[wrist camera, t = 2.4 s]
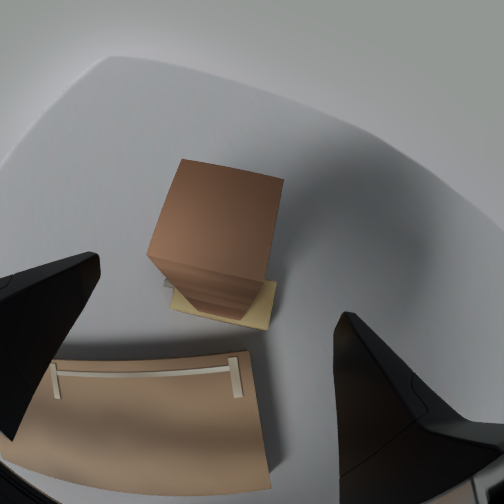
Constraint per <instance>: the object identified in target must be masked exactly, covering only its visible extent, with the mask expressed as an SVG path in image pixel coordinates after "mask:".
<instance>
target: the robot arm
mask: <svg viewBox="0 0 504 504" xmlns="http://www.w3.org/2000/svg"><path fill="white" fill-rule="evenodd" d="M100 275H101V270H100V258H99V255H98V254H97V253H93V252H85V253H81V254H78V255H74V256H71V257H68V258H64V259H61V260H57V261H54V262H51V263H47V264H44V265H41V266H38V267H34V268H31V269H28V270H25V271H22V272H19V273H16V274H14V275H13V274H12V275H9V276H6V277H3V278H0V433H1V434H3V435H4V436H5V437H6V438H7V439H9V440H10V441H11V442H13V440H14V438H15V436H16V433H17V431H18V428H19V426H20V424H21V422H22V419H23V417H24V415H25V413H26V410H27V408H28V406H29V404H30V402H31V400H32V398H33V395H34V394H35V392H36V390H37V388H38V386H39V384H40V382H41V380H42V378H43V376H44V374H45V372H46V371H47V369H48V367H49V365H50V363H51V362H52V360H53V358H54V356H55V354H56V353H57V351H58V349H59V348H60V346H61V344H62V343H63V341H64V339H65V338H66V336H67V334H68V333H69V331H70V329H71V328H72V326H73V325H74V323H75V321H76V320H77V318H78V317H79V315H80V314H81V312H82V310H83V309H84V307H85V305H86V303H87V301H88V299H89V298H90V296H91V294H92V292H93V290H94V288H95V286H96V284H97V283H98V281H99V279H100ZM333 374H334V385H335V397H336V410H337V425H338V444H339V474H340V478H339V484H340V504H504V424H496V423H482V422H473V421H470V420H467V419H465V418H463V417H462V416H461V415H459V414H458V413H457V412H456V411H455V410H454V409H453V408H452V407H450V406H449V405H448V404H447V403H446V402H445V401H444V400H443V399H441V398H440V397H439V396H438V395H437V394H436V393H435V392H434V391H433V390H432V389H430V388H429V387H428V386H427V385H426V384H425V383H424V382H423V381H422V380H421V379H420V378H419V377H418V376H417V375H416V374H415V373H414V372H413V371H412V370H411V368H410V367H409V366H408V365H407V364H406V363H405V362H404V361H403V360H402V359H401V358H400V357H399V356H398V355H397V354H396V353H395V352H394V351H393V350H392V349H391V348H390V347H389V346H388V345H387V344H386V343H385V342H384V341H383V340H382V339H381V338H380V337H379V336H378V335H377V334H376V333H375V332H374V331H373V330H372V329H371V328H370V327H369V326H368V325H367V324H366V323H364V322H363V321H362V320H361V319H360V318H359V317H358V316H357V315H356V314H355V313H352V312H346V311H345V312H343V313H342V315H341V317H340V319H339V321H338V323H337V325H336V327H335V330H334V335H333ZM0 504H62V503H60V502H58V501H56V500H55V499H53V498H52V497H50V496H48V495H47V494H45V493H44V492H42V491H40V490H39V489H37V488H36V487H34V486H33V485H32V484H30V483H29V482H27V481H26V480H25V479H23V478H22V477H20V476H19V475H18V474H16V473H15V472H14V471H13V470H11V469H10V468H9V467H8V466H6V465H5V464H4V463H3V462H1V461H0Z"/></svg>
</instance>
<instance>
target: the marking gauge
mask: <svg viewBox="0 0 504 504" xmlns="http://www.w3.org/2000/svg"><path fill="white" fill-rule="evenodd" d="M283 181H284V179H280V178H276V177H272V176H268V175H263V174H259V173H254V172H249V171H245V170H240V169H235V168H230V167H225V166H220V165H214V164H209V163H204V162H198V161H192V160H186V159H182V160H181V162H180V164H179V167H178V169H177V172H176V174H175V177H174V179H173V182H172V184H171V187H170V189H169V192H168V194H167V197H166V200H165V202H164V205H163V208H162V211H161V213H160V216H159V219H158V222H157V225H156V227H155V230H154V233H153V236H152V239H151V242H150V245H149V248H148V251H147V256H148V257H149V259H150V260H151V261H152V262H153V263H154V264H155V265H156V267H157V268H158V269H159V270H160V271H161V272H162V273H163V274H164V276H165V277H166V278H167V279H165V280H164V284H163V285H164V286H165V287H169V288H173V289H174V293H173V297H172V300H171V304H170V307H171V308H172V309H174V310H177V311H180V312H184V313H188V314H192V315H196V316H200V317H204V318H208V319H212V320H217V321H221V322H225V323H230V324H234V325H239V326H243V327H248V328H253V329H258V330H263V331H266V330H268V326H269V321H270V316H271V311H272V306H273V301H274V296H275V290H276V285H277V282H275V281H270V280H265V275H266V270H267V265H268V260H269V255H270V250H271V245H272V239H273V234H274V229H275V224H276V219H277V213H278V208H279V203H280V197H281V192H282V187H283Z"/></svg>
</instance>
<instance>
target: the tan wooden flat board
mask: <svg viewBox="0 0 504 504" xmlns="http://www.w3.org/2000/svg"><path fill="white" fill-rule="evenodd" d="M0 453H1V456H2V458H3V459H4V460H7V461H9V462H11V463H14V464H16V465H19V466H21V467H24V468H26V469H29V470H32V471H35V472H38V473H41V474H44V475H47V476H50V477H53V478H57V479H60V480H64V481H68V482H72V483H76V484H80V485H84V486H89V487H94V488H99V489H105V490H111V491H118V492H125V493H134V494H144V495H159V496H209V495H224V494H235V493H244V492H251V491H258V490H265V489H270V488H271V483H270V477H269V471H268V466H267V460H266V454H265V448H264V442H263V436H262V430H261V424H260V418H259V411H258V405H257V399H256V392H255V386H254V379H253V373H252V366H251V360H250V353H249V351H248V350H242V351H234V352H226V353H218V354H208V355H198V356H187V357H174V358H158V359H137V360H70V359H53V360H52V362H51V363H50V365H49V367H48V369H47V371H46V372H45V374H44V376H43V378H42V380H41V382H40V384H39V386H38V388H37V390H36V392H35V394H34V395H33V398H32V400H31V402H30V404H29V406H28V408H27V410H26V413H25V415H24V417H23V419H22V422H21V424H20V426H19V428H18V431H17V433H16V436H15V438H14V440H13V442H11V441H10V440H9V439H7V438H6V437H5V436H4V435H3V434H1V433H0Z"/></svg>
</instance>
